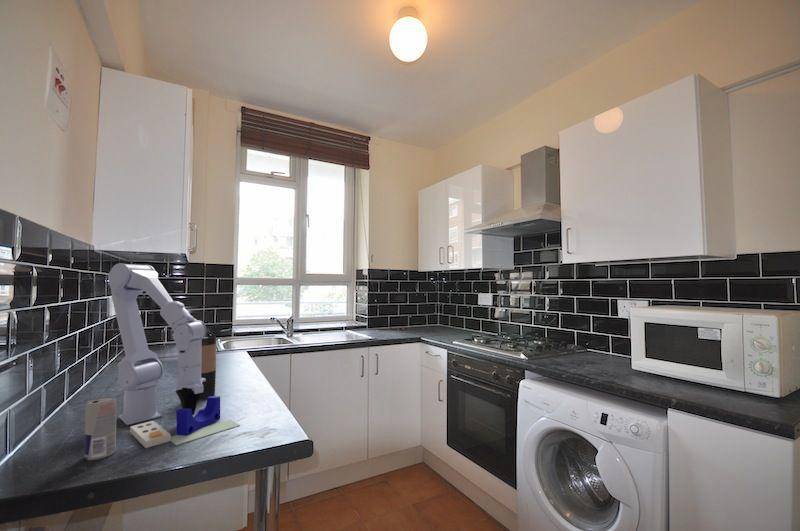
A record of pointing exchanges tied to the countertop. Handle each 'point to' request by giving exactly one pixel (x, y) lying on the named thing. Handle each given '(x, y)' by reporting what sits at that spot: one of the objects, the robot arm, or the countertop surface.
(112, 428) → the energy drink
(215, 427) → the mat
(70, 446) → the countertop surface
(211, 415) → the cable clip
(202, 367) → the travel mug
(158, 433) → the power strip
